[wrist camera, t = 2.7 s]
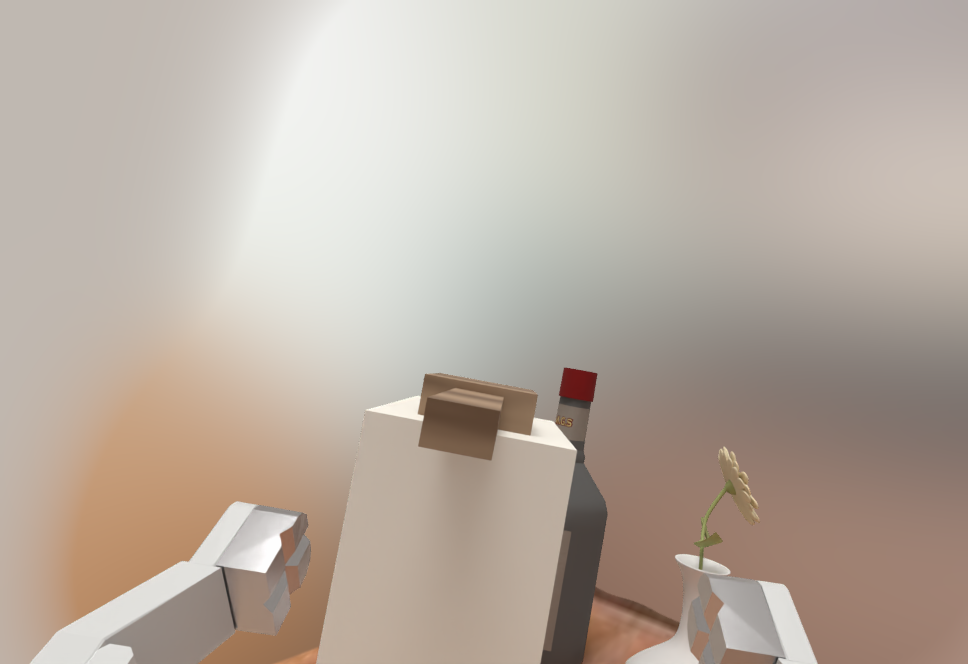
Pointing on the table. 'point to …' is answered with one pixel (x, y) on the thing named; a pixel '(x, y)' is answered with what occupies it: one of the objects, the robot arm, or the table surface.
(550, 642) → the liquor
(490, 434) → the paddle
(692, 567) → the flower in vase
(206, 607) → the robot arm
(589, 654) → the table surface
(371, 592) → the stand
